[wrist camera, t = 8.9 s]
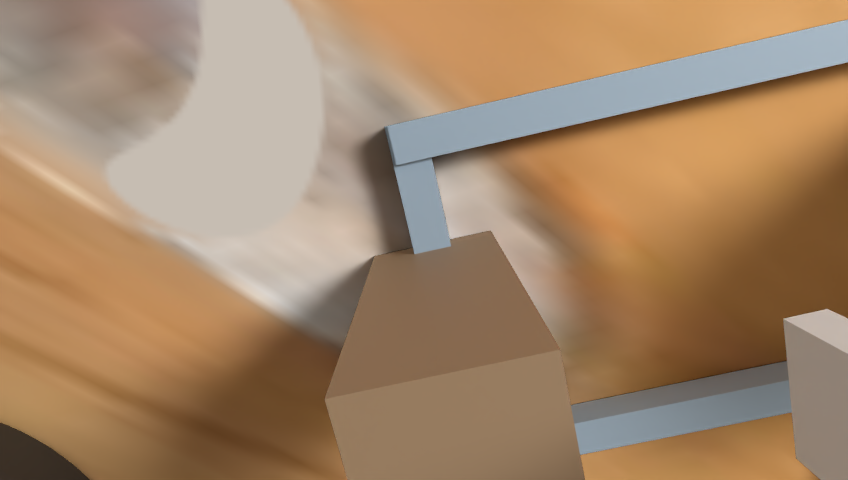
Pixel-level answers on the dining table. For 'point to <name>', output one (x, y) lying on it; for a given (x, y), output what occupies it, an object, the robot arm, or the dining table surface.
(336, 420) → the frame
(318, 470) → the dining table surface
